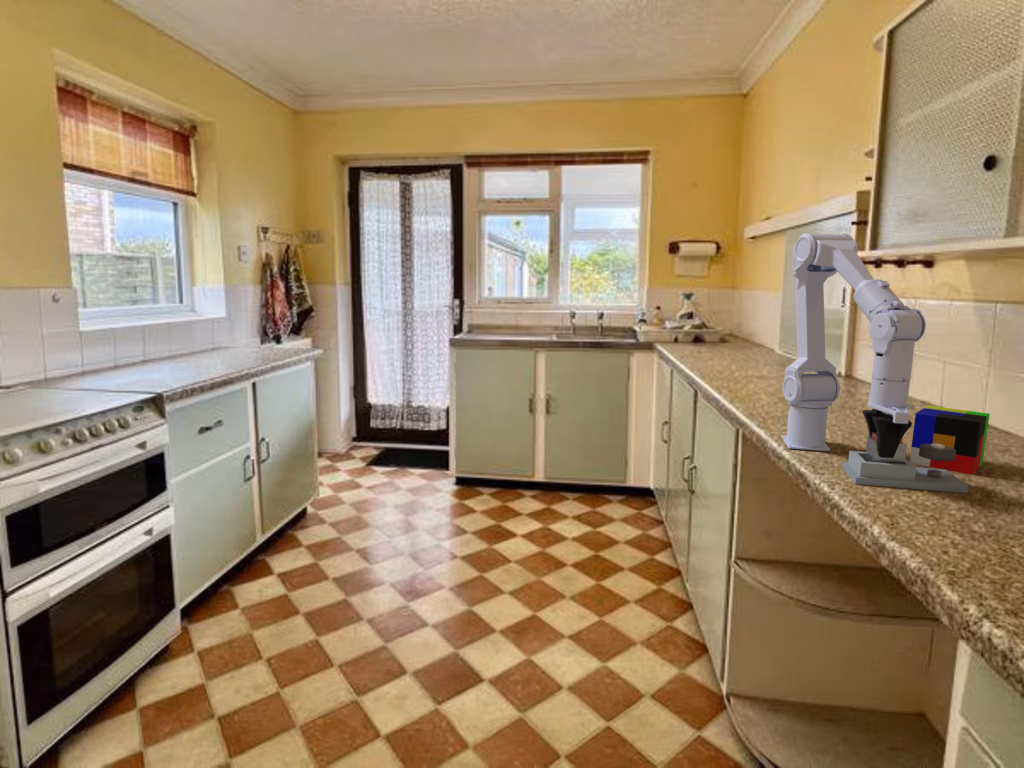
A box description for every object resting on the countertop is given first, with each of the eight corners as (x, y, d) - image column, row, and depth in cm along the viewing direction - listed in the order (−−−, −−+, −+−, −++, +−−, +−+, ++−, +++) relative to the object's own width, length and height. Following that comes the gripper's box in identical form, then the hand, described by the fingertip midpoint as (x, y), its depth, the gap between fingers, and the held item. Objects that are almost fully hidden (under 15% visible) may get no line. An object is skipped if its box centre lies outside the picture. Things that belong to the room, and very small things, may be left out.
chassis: (841, 468, 115) (843, 449, 114) (945, 476, 110) (947, 456, 110) (855, 484, 106) (857, 463, 105) (967, 493, 102) (970, 472, 101)
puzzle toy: (909, 463, 118) (915, 413, 116) (922, 452, 125) (928, 405, 123) (972, 475, 111) (980, 422, 109) (982, 463, 118) (989, 413, 116)
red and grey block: (864, 462, 111) (868, 430, 110) (895, 465, 110) (899, 433, 109) (871, 469, 107) (875, 436, 106) (902, 472, 106) (907, 439, 105)
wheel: (914, 451, 109) (915, 440, 109) (947, 453, 108) (948, 442, 108) (925, 459, 104) (927, 448, 104) (960, 462, 103) (961, 450, 103)
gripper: (933, 387, 98) (923, 467, 100) (901, 373, 112) (893, 444, 114) (884, 385, 100) (875, 464, 102) (859, 371, 114) (851, 441, 116)
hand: (882, 453), depth 108 cm, fingers closed on red and grey block, 4 cm apart
